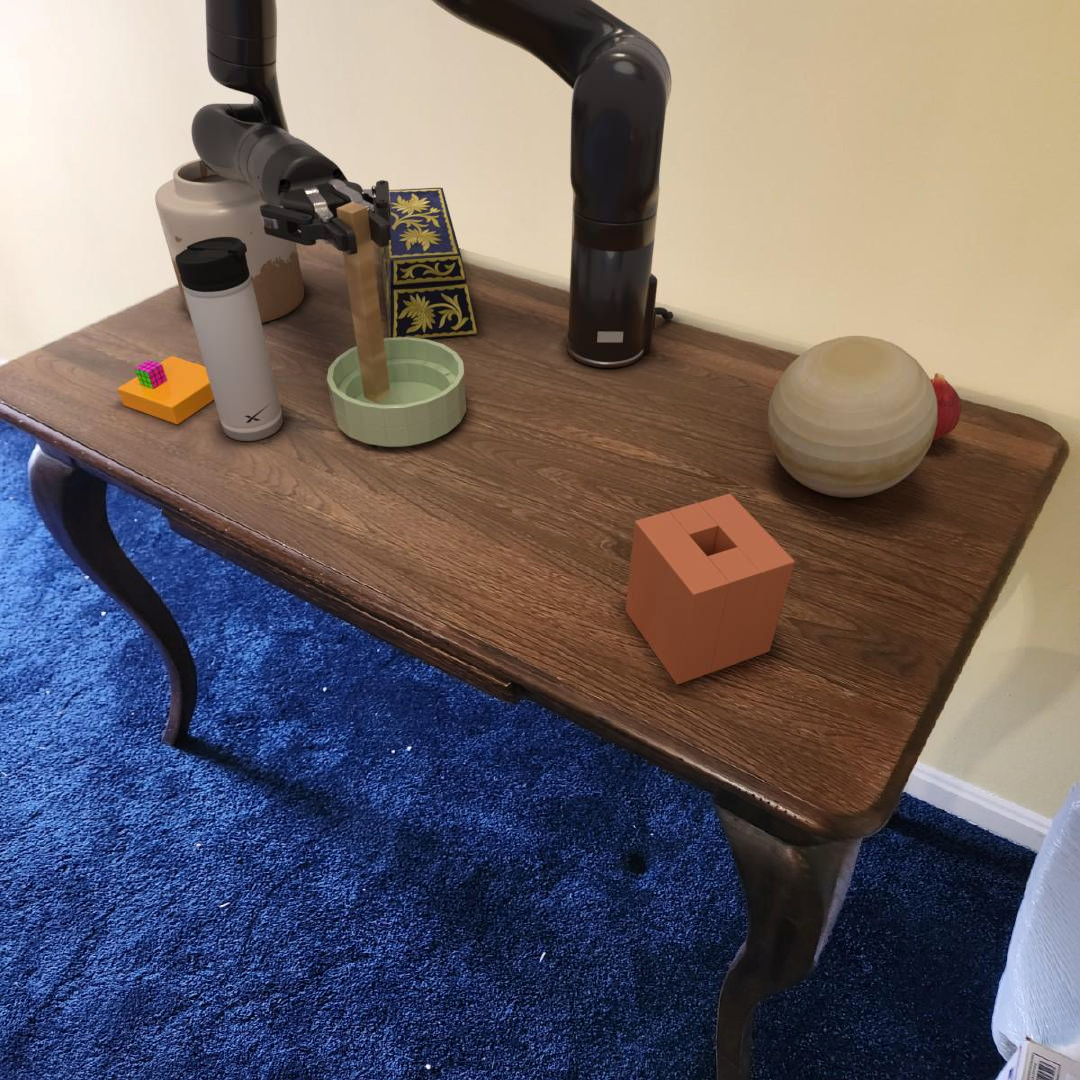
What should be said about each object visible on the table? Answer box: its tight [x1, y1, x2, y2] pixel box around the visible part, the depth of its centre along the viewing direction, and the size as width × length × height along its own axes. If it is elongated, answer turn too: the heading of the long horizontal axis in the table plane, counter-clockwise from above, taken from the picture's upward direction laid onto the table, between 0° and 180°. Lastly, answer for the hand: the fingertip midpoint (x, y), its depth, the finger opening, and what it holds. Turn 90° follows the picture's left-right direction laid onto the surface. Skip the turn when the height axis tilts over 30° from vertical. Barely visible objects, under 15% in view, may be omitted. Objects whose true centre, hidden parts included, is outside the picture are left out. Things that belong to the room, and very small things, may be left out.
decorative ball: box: [766, 335, 937, 499], centre depth 81 cm, size 15×15×15 cm
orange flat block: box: [117, 355, 215, 425], centre depth 94 cm, size 8×8×4 cm
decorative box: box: [379, 187, 478, 340], centre depth 114 cm, size 11×30×9 cm, turn 10°
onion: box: [930, 372, 962, 441], centre depth 88 cm, size 6×6×8 cm
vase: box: [154, 158, 305, 324], centre depth 108 cm, size 15×15×17 cm
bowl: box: [326, 337, 467, 448], centre depth 92 cm, size 14×14×6 cm
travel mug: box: [175, 237, 284, 442], centre depth 85 cm, size 6×7×20 cm
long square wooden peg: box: [337, 202, 391, 403], centre depth 84 cm, size 2×2×20 cm
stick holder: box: [624, 493, 796, 686], centre depth 67 cm, size 9×9×10 cm
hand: (368, 239), depth 77 cm, fingers closed on long square wooden peg, 2 cm apart
